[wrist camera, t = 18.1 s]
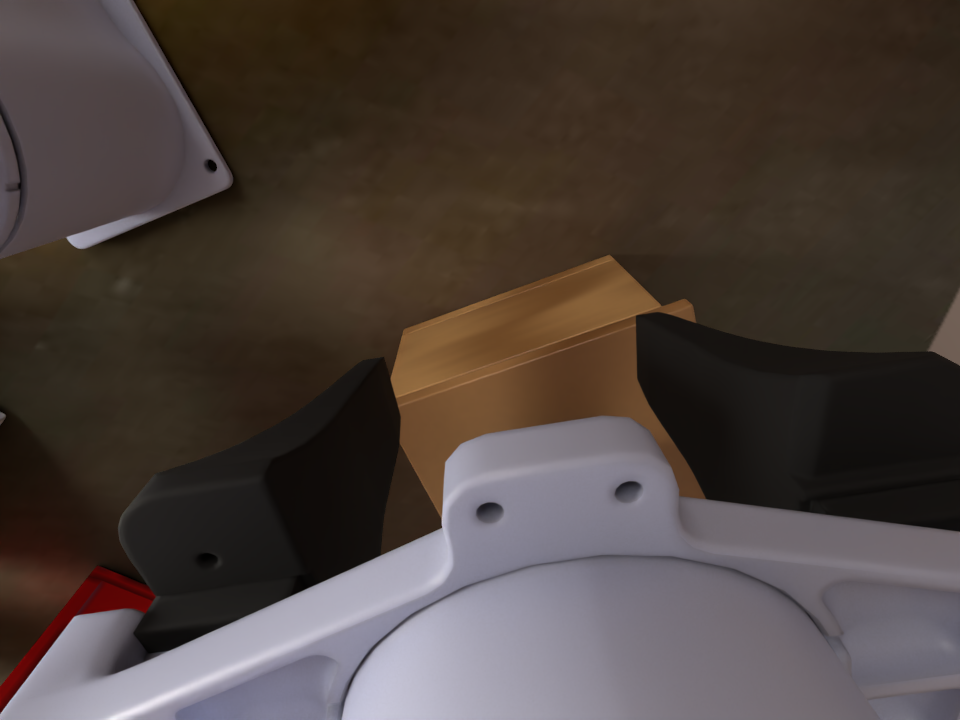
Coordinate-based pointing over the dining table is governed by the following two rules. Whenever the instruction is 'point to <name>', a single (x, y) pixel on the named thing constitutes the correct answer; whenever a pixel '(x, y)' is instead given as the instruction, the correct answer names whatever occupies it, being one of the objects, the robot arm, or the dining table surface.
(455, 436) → the box lid
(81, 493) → the dining table surface
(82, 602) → the french fries container
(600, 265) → the box
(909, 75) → the dining table surface
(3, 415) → the tea box
